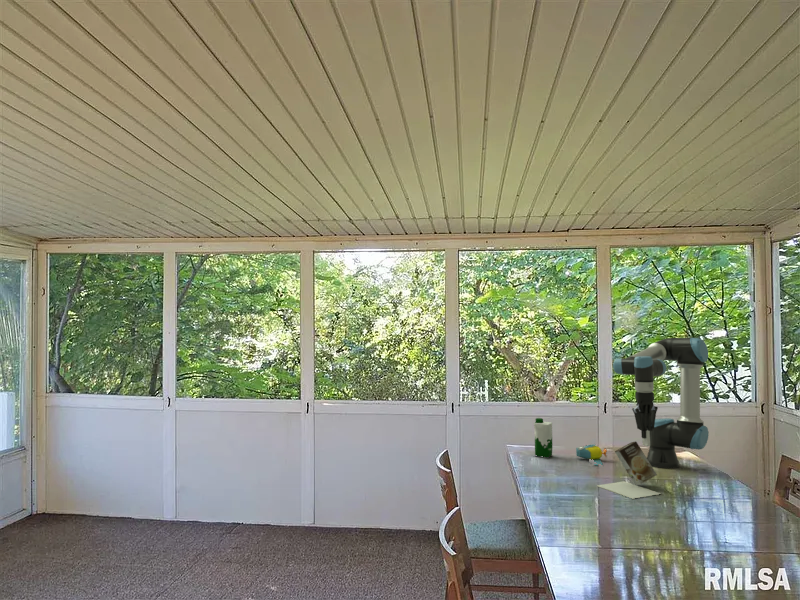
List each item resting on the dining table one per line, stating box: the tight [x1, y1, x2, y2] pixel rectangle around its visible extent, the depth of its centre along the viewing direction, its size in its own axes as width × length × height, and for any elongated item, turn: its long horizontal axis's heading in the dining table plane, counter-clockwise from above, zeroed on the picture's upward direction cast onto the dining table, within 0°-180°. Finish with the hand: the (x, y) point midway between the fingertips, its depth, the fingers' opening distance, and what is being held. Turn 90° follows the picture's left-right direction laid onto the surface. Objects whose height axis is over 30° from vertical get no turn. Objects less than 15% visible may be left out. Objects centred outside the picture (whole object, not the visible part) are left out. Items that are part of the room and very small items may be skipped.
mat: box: [596, 480, 662, 500], centre depth 231 cm, size 16×20×1 cm
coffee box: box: [614, 441, 658, 486], centre depth 239 cm, size 9×6×16 cm
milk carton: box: [533, 417, 553, 458], centre depth 295 cm, size 9×9×20 cm
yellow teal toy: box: [575, 443, 608, 467], centre depth 286 cm, size 28×9×15 cm
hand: (646, 445), depth 236 cm, fingers closed
